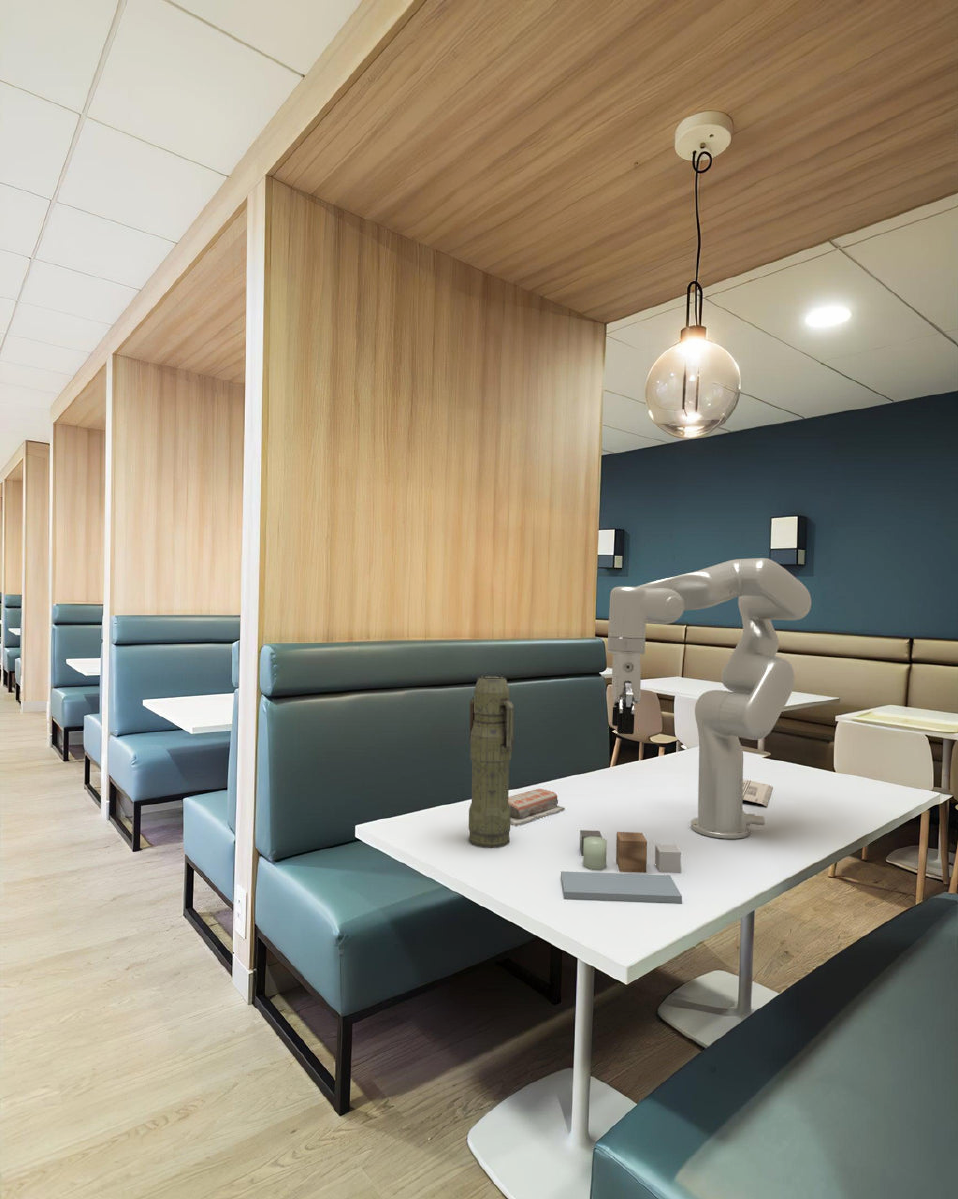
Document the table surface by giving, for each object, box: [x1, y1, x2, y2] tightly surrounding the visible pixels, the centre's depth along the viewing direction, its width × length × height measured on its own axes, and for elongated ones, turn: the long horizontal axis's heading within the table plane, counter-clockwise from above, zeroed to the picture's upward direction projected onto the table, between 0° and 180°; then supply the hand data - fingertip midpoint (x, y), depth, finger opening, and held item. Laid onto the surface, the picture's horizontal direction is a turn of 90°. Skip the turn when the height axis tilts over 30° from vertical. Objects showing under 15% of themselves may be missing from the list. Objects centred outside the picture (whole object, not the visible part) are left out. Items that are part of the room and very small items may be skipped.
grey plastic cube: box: [654, 844, 682, 874], centre depth 133 cm, size 4×4×4 cm
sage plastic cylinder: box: [582, 836, 608, 871], centre depth 134 cm, size 4×4×5 cm
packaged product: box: [508, 788, 566, 827], centre depth 166 cm, size 18×5×10 cm
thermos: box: [468, 675, 515, 849], centre depth 147 cm, size 9×12×35 cm
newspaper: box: [743, 779, 774, 809], centre depth 186 cm, size 23×12×2 cm, turn 153°
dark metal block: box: [579, 829, 603, 857], centre depth 141 cm, size 4×4×4 cm
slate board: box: [560, 870, 683, 904], centre depth 123 cm, size 20×9×1 cm, turn 87°
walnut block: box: [615, 831, 648, 874], centre depth 133 cm, size 5×5×6 cm
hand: (622, 729), depth 141 cm, fingers open, 9 cm apart
